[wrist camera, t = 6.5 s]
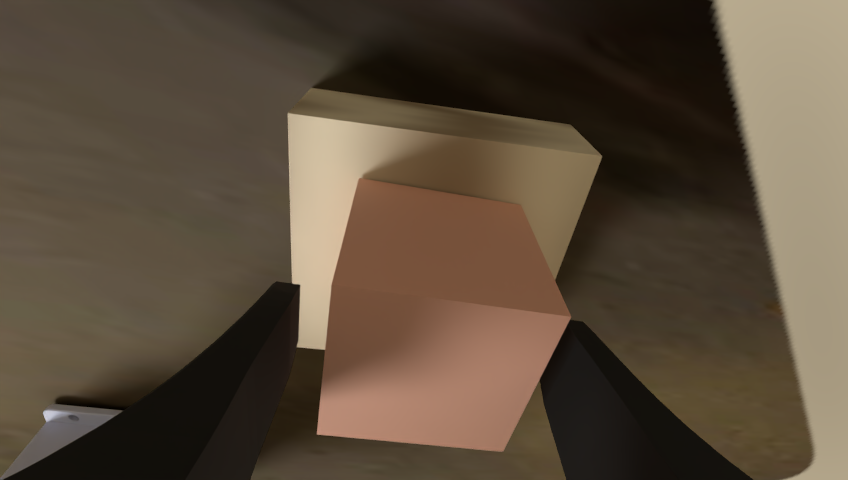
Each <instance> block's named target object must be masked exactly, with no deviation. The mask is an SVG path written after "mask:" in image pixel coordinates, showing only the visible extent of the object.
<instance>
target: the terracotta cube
mask: <svg viewBox="0 0 848 480" xmlns="http://www.w3.org/2000/svg"><path fill="white" fill-rule="evenodd" d="M570 318H571V315H570V313H569V311H568V308H567V306H566V304H565V302H564V300H563V297H562V295H561V293H560V291H559V288H558V286H557V284H556V282H555V280H554V277H553V275H552V273H551V271H550V268H549V266H548V264H547V262H546V260H545V257H544V255H543V253H542V251H541V249H540V246H539V244H538V242H537V240H536V237H535V235H534V233H533V231H532V229H531V226H530V224H529V222H528V220H527V217H526V215H525V213H524V211H523V209H522V206H521V205H518V204H512V203H506V202H500V201H494V200H488V199H482V198H476V197H470V196H464V195H458V194H452V193H446V192H440V191H435V190H429V189H423V188H417V187H411V186H405V185H399V184H393V183H387V182H381V181H375V180H369V179H363V178H359V180H358V183H357V187H356V191H355V195H354V199H353V203H352V207H351V211H350V215H349V219H348V222H347V226H346V230H345V234H344V238H343V242H342V246H341V250H340V254H339V258H338V261H337V265H336V269H335V273H334V277H333V281H332V285H331V296H330V306H329V316H328V326H327V336H326V346H325V356H324V366H323V376H322V386H321V397H320V407H319V417H318V427H317V435H328V436H339V437H349V438H360V439H371V440H382V441H392V442H403V443H414V444H424V445H435V446H446V447H457V448H467V449H478V450H489V451H499V452H503V450H504V449H505V447H506V445H507V443H508V441H509V439H510V437H511V435H512V433H513V431H514V429H515V427H516V425H517V423H518V421H519V419H520V417H521V415H522V413H523V411H524V409H525V407H526V405H527V403H528V401H529V399H530V397H531V395H532V393H533V391H534V389H535V387H536V385H537V383H538V382H539V380H540V378H541V376H542V374H543V372H544V370H545V368H546V366H547V364H548V362H549V360H550V358H551V356H552V354H553V352H554V350H555V348H556V346H557V344H558V342H559V340H560V338H561V336H562V334H563V332H564V330H565V328H566V326H567V324H568V322H569V320H570Z"/></svg>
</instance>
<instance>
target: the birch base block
mask: <svg viewBox="0 0 848 480" xmlns="http://www.w3.org/2000/svg"><path fill="white" fill-rule="evenodd" d="M288 140H289V180H290V219H291V258H292V284H299V285H300V310H299V338H298V344H297V347H300V348H311V349H322V350H325V346H326V336H327V326H328V316H329V306H330V296H331V285H332V281H333V277H334V273H335V269H336V265H337V261H338V258H339V254H340V250H341V246H342V242H343V238H344V234H345V230H346V226H347V222H348V219H349V215H350V211H351V207H352V203H353V199H354V195H355V191H356V187H357V183H358V180H359V178H363V179H369V180H375V181H381V182H387V183H393V184H399V185H405V186H411V187H417V188H423V189H429V190H435V191H440V192H446V193H452V194H458V195H464V196H470V197H476V198H482V199H488V200H494V201H500V202H506V203H512V204H518V205H521V206H522V209H523V211H524V213H525V215H526V217H527V220H528V222H529V224H530V226H531V229H532V231H533V233H534V235H535V237H536V240H537V242H538V244H539V246H540V249H541V251H542V253H543V255H544V257H545V260H546V262H547V264H548V266H549V268H550V271H551V273H552V275H553V277H554V280H555V279H556V276H557V274H558V271H559V269H560V266H561V263H562V261H563V258H564V255H565V253H566V250H567V248H568V245H569V242H570V240H571V237H572V235H573V232H574V229H575V227H576V224H577V221H578V219H579V216H580V214H581V211H582V208H583V206H584V203H585V201H586V198H587V195H588V193H589V190H590V187H591V185H592V182H593V180H594V177H595V174H596V172H597V169H598V167H599V164H600V161H601V159H602V155H601V154H600V153H599V152H598V151H597V150H596V149H595V148H594V147H593V146H592V145H591V144H590V143H589V142H588V141H587V140H586V139H585V138H584V137H583V136H582V135H581V134H580V133H579V132H578V131H577V130H576V129H575V128H574V127H573V126H572V125H570V124H563V123H556V122H549V121H542V120H535V119H528V118H521V117H514V116H507V115H499V114H492V113H485V112H478V111H471V110H464V109H457V108H450V107H443V106H436V105H429V104H422V103H415V102H408V101H401V100H394V99H387V98H380V97H372V96H365V95H358V94H351V93H344V92H337V91H330V90H323V89H316V88H311V89H310V90H309V91H308V92H307V93H306V94H305V95H304V96H303V97H302V98H301V100H300V101H299V102H298V103H297V104H296V105H295V106H294V107H293V108H292V109H291V110H290V111H289V112H288Z"/></svg>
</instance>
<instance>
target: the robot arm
mask: <svg viewBox="0 0 848 480" xmlns="http://www.w3.org/2000/svg"><path fill="white" fill-rule="evenodd" d="M299 310H300V285H299V284H291V283H284V282H275V283H274V284H272V285H271V286H270V288H269V289H268V290H267V291H266V292H265V293H264V294H263V295H262V296H261V297H260V298H259V300H258V301H257V302H256V303H255V304H254V305H253V306H252V307H251V308H250V309H249V310H248V311H247V312H246V313H245V314H244V315H243V316H242V317H241V318H240V319H239V320H238V321H237V322H235V323H234V324H233V325H232V326H231V327H230V328H229V329H228V330H227V331H226V332H225V333H224V334H223V335H222V336H221V337H219V338H218V339H217V340H216V341H215V342H214V343H213V344H211V345H210V346H209V347H208V348H207V349H206V350H204V351H203V352H202V353H201V354H200V355H199V356H197V357H196V358H195V359H194V360H193V361H191V362H190V363H189V364H188V365H186V366H185V367H184V368H183V369H181V370H180V371H179V372H178V373H176V374H175V375H174V376H172V377H171V378H170V379H168V380H167V381H166V382H164V383H163V384H161V385H160V386H159V387H157V388H156V389H155V390H153V391H152V392H150V393H149V394H147V395H146V396H144V397H143V398H142V399H140V400H139V401H137V402H136V403H134V404H133V405H131V406H130V407H128V408H127V409H125V410H113V409H103V408H92V407H82V406H72V405H61V404H51V405H49V406H48V407H47V408H46V409H45V410H44V412H43V415H44V417H45V419H46V421H47V422H46V423H45V424H44V426H43V427H42V428H41V429H40V430H39V432H38V433H37V434H36V435H35V437H34V438H33V439H32V440H31V441H30V443H29V444H28V445H27V446H26V447H25V449H24V450H23V451H22V452H21V454H20V455H19V456H18V457H17V458H16V460H15V461H14V462H13V463H12V465H11V466H10V467H9V468H8V469H7V471H6V472H5V473H4V474H3V475H2V477H1V478H0V480H250V479H251V476H252V473H253V470H254V467H255V464H256V461H257V458H258V455H259V453H260V450H261V448H262V445H263V443H264V440H265V437H266V435H267V432H268V430H269V427H270V425H271V422H272V419H273V417H274V414H275V412H276V409H277V407H278V404H279V401H280V399H281V396H282V394H283V391H284V388H285V386H286V383H287V380H288V378H289V375H290V371H291V367H292V364H293V360H294V356H295V352H296V348H297V344H298V338H299ZM540 383H541V390H542V395H543V401H544V406H545V409H546V413H547V416H548V420H549V423H550V426H551V430H552V433H553V437H554V440H555V443H556V446H557V450H558V453H559V456H560V460H561V463H562V466H563V470H564V473H565V476H566V480H753V479H752V478H750V477H749V476H748V475H746V474H745V473H744V472H742V471H741V470H740V469H739V468H737V467H736V466H735V465H733V464H732V463H731V462H729V461H728V460H727V459H726V458H724V457H723V456H722V455H721V454H719V453H718V452H717V451H716V450H714V449H713V448H712V447H711V446H710V445H709V444H707V443H706V442H705V441H704V440H703V439H701V438H700V437H699V436H698V435H697V434H695V433H694V432H693V431H692V430H691V429H690V428H689V427H687V426H686V425H685V424H684V423H683V422H682V421H681V420H680V419H678V418H677V417H676V416H675V415H674V414H673V413H672V412H671V411H670V410H669V409H668V408H667V407H666V406H665V405H664V404H663V403H662V402H660V401H659V400H658V399H657V398H656V397H655V396H654V395H653V394H652V393H651V392H650V391H649V390H648V389H647V388H646V387H645V386H644V385H643V384H642V383H641V382H640V381H639V380H638V379H637V378H636V377H635V376H634V375H633V374H632V373H631V371H630V370H629V369H628V368H627V367H626V366H625V365H624V364H623V363H622V362H621V361H620V360H619V359H618V358H617V357H616V356H615V355H614V354H613V352H612V351H611V350H610V349H609V348H608V347H607V346H606V345H605V344H604V343H603V342H602V341H601V340H600V339H599V338H598V337H597V336H596V334H595V333H594V332H593V331H592V330H591V329H590V328H589V327H588V326H587V325H586V324H584V323H583V322H581V321H574V320H569V322H568V324H567V326H566V328H565V330H564V332H563V334H562V336H561V338H560V340H559V342H558V344H557V346H556V348H555V350H554V352H553V354H552V356H551V358H550V360H549V362H548V364H547V366H546V368H545V370H544V372H543V374H542V376H541V378H540Z"/></svg>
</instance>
